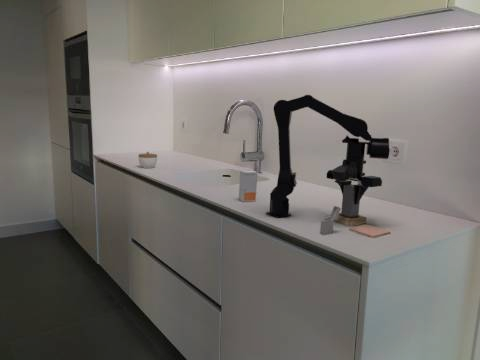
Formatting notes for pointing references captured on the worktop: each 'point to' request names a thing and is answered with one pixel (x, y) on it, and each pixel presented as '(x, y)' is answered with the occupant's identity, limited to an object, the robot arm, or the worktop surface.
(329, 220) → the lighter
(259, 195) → the worktop surface
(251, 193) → the skincare box
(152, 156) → the lidded jar
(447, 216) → the worktop surface
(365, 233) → the tile
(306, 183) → the worktop surface
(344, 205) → the dark grey block
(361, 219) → the wooden square frame
